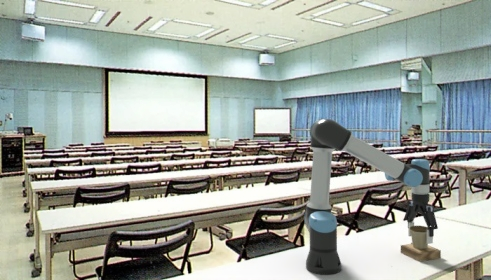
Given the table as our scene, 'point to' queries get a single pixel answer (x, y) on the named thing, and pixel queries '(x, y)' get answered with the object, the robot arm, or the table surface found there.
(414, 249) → the plinth
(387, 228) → the table surface
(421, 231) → the flower pot
